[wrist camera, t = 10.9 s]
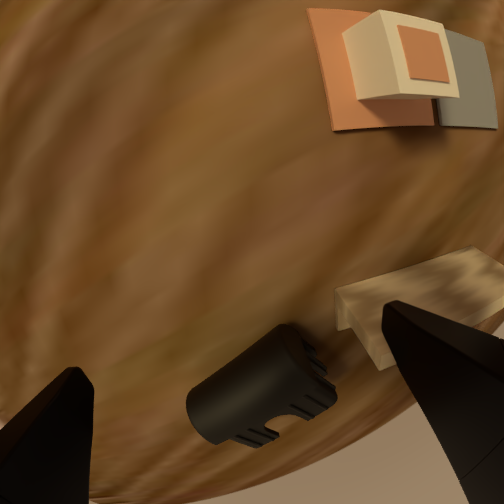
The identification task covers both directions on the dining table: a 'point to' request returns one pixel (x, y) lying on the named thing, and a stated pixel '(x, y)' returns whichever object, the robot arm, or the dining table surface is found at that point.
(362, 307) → the beech screen
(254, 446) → the end cap
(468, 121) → the slate tile
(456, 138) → the dining table surface
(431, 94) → the marked cube
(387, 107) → the terracotta tile
